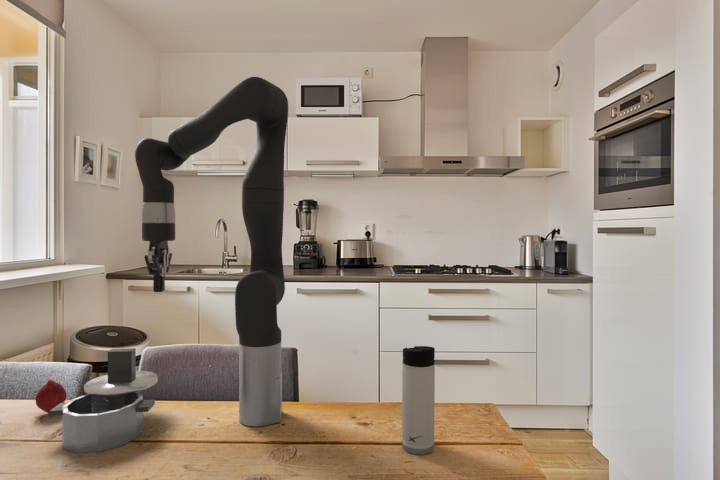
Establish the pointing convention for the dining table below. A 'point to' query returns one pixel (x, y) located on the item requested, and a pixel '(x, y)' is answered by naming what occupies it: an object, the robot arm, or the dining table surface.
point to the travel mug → (418, 399)
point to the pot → (101, 421)
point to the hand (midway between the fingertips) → (159, 291)
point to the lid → (121, 376)
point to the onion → (50, 396)
